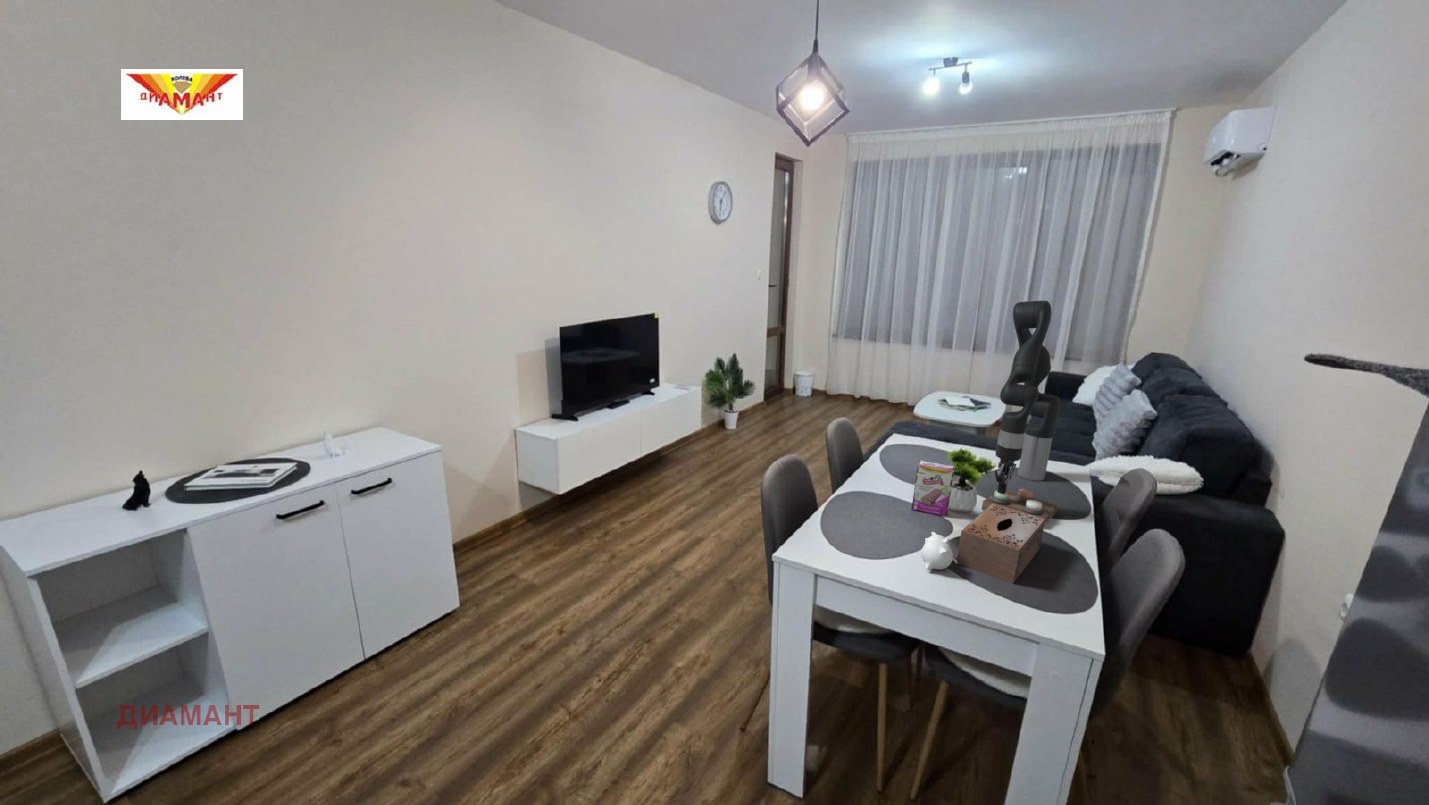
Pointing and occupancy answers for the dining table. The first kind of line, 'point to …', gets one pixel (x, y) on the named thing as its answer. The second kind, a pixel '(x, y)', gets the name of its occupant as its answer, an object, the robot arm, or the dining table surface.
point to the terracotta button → (1025, 494)
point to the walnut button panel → (1023, 505)
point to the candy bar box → (932, 488)
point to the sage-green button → (1001, 496)
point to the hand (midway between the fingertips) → (1001, 492)
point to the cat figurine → (937, 552)
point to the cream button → (1033, 505)
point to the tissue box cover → (1000, 542)
